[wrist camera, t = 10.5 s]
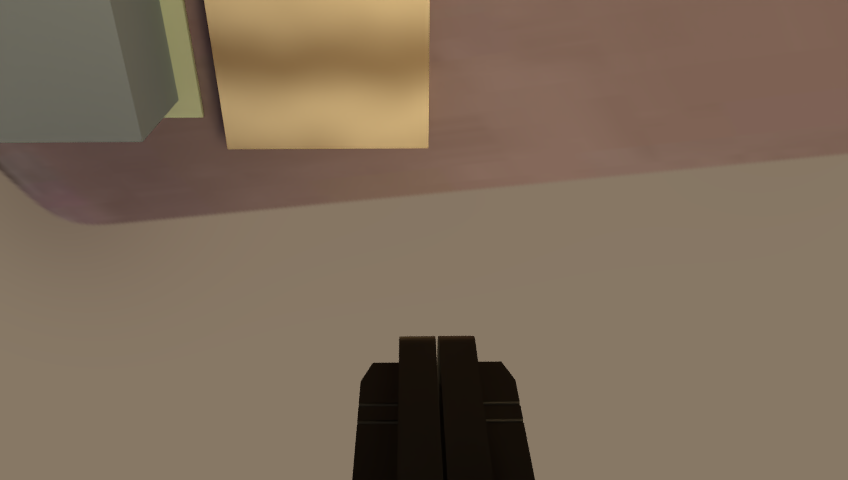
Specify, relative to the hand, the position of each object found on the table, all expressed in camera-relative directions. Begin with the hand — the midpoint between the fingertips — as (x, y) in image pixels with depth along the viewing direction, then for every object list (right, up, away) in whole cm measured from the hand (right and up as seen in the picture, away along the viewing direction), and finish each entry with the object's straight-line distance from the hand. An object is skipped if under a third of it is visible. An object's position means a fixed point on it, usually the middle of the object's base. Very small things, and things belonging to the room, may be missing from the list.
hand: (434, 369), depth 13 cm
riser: (-6, +14, +22) cm, 27 cm away
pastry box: (-18, +13, +22) cm, 31 cm away
